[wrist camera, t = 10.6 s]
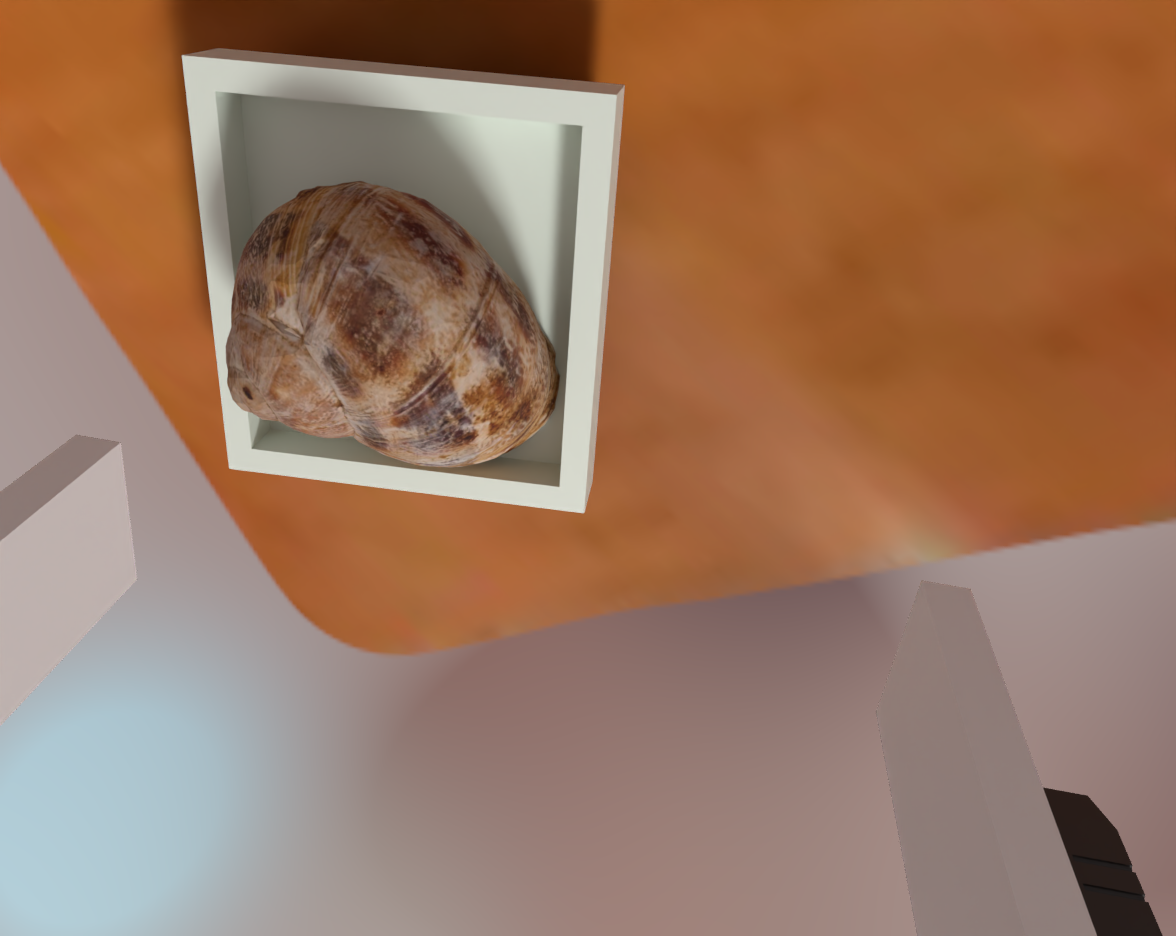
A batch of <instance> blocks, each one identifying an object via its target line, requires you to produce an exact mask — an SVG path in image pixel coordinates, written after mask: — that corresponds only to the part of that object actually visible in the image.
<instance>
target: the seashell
mask: <svg viewBox="0 0 1176 936" xmlns="http://www.w3.org/2000/svg"><path fill="white" fill-rule="evenodd" d="M555 358H556V352H555V350H554V347H553V345H552V343H551V342H550V341H549V339H548V338H547V336H546V335H545V334H544V333H543V332H542V331H541V328H540V326H539V323H538V321H537V319H536V316H535V314H534V312H533V310H532V309H531V307H530V305H529V303H528V301H527V300H526V298H525V296H524V295H523V293H522V292H521V290H520V289H519V288H518V286H517V285H516V283H515V282H514V281H513V280H512V279H511V278H510V277H509V276H508V274H507V273H506V272H505V271H504V270H503V269H502V268H501V267H500V266H499V265H498V264H497V262H496V261H495V260H494V259H493V258H492V257H491V256H490V255H489V254H488V252H487V251H486V250H485V248H484V247H483V246H482V244H481V243H480V242H479V241H478V240H477V239H476V238H475V237H473V236H472V235H471V234H470V233H469V232H468V231H467V230H466V229H464V228H463V227H462V226H461V225H460V224H459V223H458V222H457V221H456V220H454V219H453V218H451V217H450V216H449V215H447V214H446V213H444V212H443V211H441V210H440V209H438V208H437V207H436V206H434V205H433V204H431V203H430V202H428V201H427V200H425V199H423V198H419V197H416V196H414V195H411V194H409V193H405V192H400V191H396V190H394V189H391V188H389V187H384V186H379V185H373V184H369V183H366V182H363V181H355V182H348V183H341V184H338V185H332V186H316V187H315V188H312V189H305V190H302V191H300V192H299V193H298V195H297V196H296V198H294V199H292V200H290V201H288V202H287V203H285V204H283V205H281V206H280V207H278V208H277V209H275V210H274V211H273V212H271V213H270V214H269V215H267V216H266V217H265V218H264V219H263V221H262V222H261V223H260V225H259V226H258V227H257V228H256V230H255V231H254V233H253V234H252V235H251V237H250V238H249V240H248V242H247V244H246V246H245V247H244V249H243V252H242V255H241V258H240V261H239V264H238V267H237V273H236V278H235V284H234V289H233V295H232V304H231V330H230V333H229V336H228V339H227V343H226V364H227V369H228V377H227V384H228V387H229V391H230V394H231V397H232V400H233V401H234V402H235V403H236V404H237V405H238V406H239V407H240V408H241V409H242V410H244V411H247V412H250V413H253V414H254V415H256V416H258V417H259V418H261V419H262V420H271V421H279V422H281V423H283V424H285V425H287V426H288V427H290V428H292V429H294V430H297V431H300V432H302V433H305V434H308V435H313V436H317V437H321V438H342V437H348V436H353V437H354V438H355V439H356V440H357V441H358V442H360V443H362V444H364V445H366V446H367V447H369V448H371V449H373V450H375V451H377V452H379V453H381V454H383V455H386V456H389V457H391V458H394V459H397V460H400V461H404V462H407V463H410V464H414V465H418V466H431V467H438V468H439V467H461V466H468V465H473V464H477V463H481V462H485V461H488V460H491V459H495V458H497V457H498V456H500V455H501V454H504V453H508V452H509V451H511V450H512V449H516V448H518V447H519V446H520V445H522V444H523V443H524V442H525V441H527V440H528V439H529V438H531V437H532V436H534V435H535V433H536V432H537V431H538V430H539V429H540V428H541V427H542V426H544V425H545V423H546V422H547V421H548V419H549V418H550V416H551V414H552V413H553V411H554V409H555V405H556V399H557V394H558V390H559V382H560V374H559V372H558V369H557V367H556V365H555Z"/></svg>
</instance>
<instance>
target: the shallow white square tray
mask: <svg viewBox="0 0 1176 936" xmlns="http://www.w3.org/2000/svg"><path fill="white" fill-rule="evenodd" d="M182 63H183V71H184V80H185V89H186V97H187V106H188V115H189V124H190V132H191V141H192V150H193V158H194V167H195V176H196V184H197V193H198V202H199V210H200V219H201V228H202V237H203V245H204V254H205V263H206V271H207V280H208V289H209V297H210V306H211V315H212V323H213V332H214V341H215V350H216V358H217V367H218V376H219V384H220V393H221V402H222V410H223V419H224V428H225V436H226V445H227V454H228V463H229V469H236V470H244V471H252V472H260V473H268V474H276V475H283V476H291V477H299V478H307V479H315V480H323V481H331V482H339V483H347V484H355V485H363V486H371V487H379V488H387V489H395V490H403V491H411V492H419V493H427V494H435V495H443V496H451V497H458V498H466V499H474V500H482V501H490V502H498V503H506V504H514V505H522V506H530V507H538V508H546V509H554V510H562V511H570V512H578V513H584V512H585V508H586V504H587V500H588V496H589V493H590V489H591V485H592V481H593V469H594V457H595V445H596V432H597V420H598V408H599V396H600V383H601V371H602V359H603V347H604V334H605V322H606V310H607V298H608V285H609V273H610V261H611V249H612V236H613V224H614V212H615V200H616V187H617V175H618V163H619V151H620V138H621V126H622V114H623V102H624V89H625V85H621V84H610V83H599V82H588V81H577V80H566V79H555V78H544V77H533V76H522V75H511V74H500V73H489V72H478V71H467V70H456V69H444V68H433V67H422V66H411V65H400V64H389V63H378V62H367V61H356V60H345V59H334V58H323V57H312V56H301V55H290V54H279V53H267V52H256V51H245V50H234V49H223V48H217V49H211V50H206V51H201V52H196V53H191V54H186V55H182ZM355 181H363V182H366V183H369V184H373V185H379V186H384V187H389V188H391V189H394V190H396V191H400V192H405V193H409V194H411V195H414V196H416V197H419V198H423V199H425V200H427V201H428V202H430V203H431V204H433V205H434V206H436V207H437V208H438V209H440V210H441V211H443V212H444V213H446V214H447V215H449V216H450V217H451V218H453V219H454V220H456V221H457V222H458V223H459V224H460V225H461V226H462V227H463V228H464V229H466V230H467V231H468V232H469V233H470V234H471V235H472V236H473V237H475V238H476V239H477V240H478V241H479V242H480V243H481V244H482V246H483V247H484V248H485V250H486V251H487V252H488V254H489V255H490V256H491V257H492V258H493V259H494V260H495V261H496V262H497V264H498V265H499V266H500V267H501V268H502V269H503V270H504V271H505V272H506V273H507V274H508V276H509V277H510V278H511V279H512V280H513V281H514V282H515V283H516V285H517V286H518V288H519V289H520V290H521V292H522V293H523V295H524V296H525V298H526V300H527V301H528V303H529V305H530V307H531V309H532V310H533V312H534V314H535V316H536V319H537V321H538V323H539V326H540V328H541V331H542V332H543V333H544V334H545V335H546V336H547V338H548V339H549V341H550V342H551V343H552V345H553V347H554V350H555V352H556V358H555V365H556V367H557V369H558V372H559V374H560V382H559V390H558V394H557V399H556V405H555V409H554V411H553V413H552V414H551V416H550V418H549V419H548V421H547V422H546V423H545V425H544V426H542V427H541V428H540V429H539V430H538V431H537V432H536V433H535V435H534V436H532V437H531V438H529V439H528V440H527V441H525V442H524V443H523V444H522V445H520V446H519V447H518V448H516V449H512V450H511V451H509V452H508V453H504V454H501V455H500V456H498V457H497V458H495V459H491V460H488V461H485V462H481V463H477V464H473V465H468V466H461V467H439V468H438V467H431V466H418V465H414V464H410V463H407V462H404V461H400V460H397V459H394V458H391V457H389V456H386V455H383V454H381V453H379V452H377V451H375V450H373V449H371V448H369V447H367V446H366V445H364V444H362V443H360V442H358V441H357V440H356V439H355V438H354V437H353V436H348V437H342V438H321V437H317V436H313V435H308V434H305V433H302V432H300V431H297V430H294V429H292V428H290V427H288V426H287V425H285V424H283V423H281V422H279V421H271V420H262V419H261V418H259V417H258V416H256V415H254V414H253V413H250V412H247V411H244V410H242V409H241V408H240V407H239V406H238V405H237V404H236V403H235V402H234V401H233V400H232V397H231V394H230V391H229V387H228V384H227V377H228V369H227V364H226V343H227V339H228V336H229V333H230V330H231V304H232V295H233V289H234V284H235V278H236V273H237V267H238V264H239V261H240V258H241V255H242V252H243V249H244V247H245V246H246V244H247V242H248V240H249V238H250V237H251V235H252V234H253V233H254V231H255V230H256V228H257V227H258V226H259V225H260V223H261V222H262V221H263V219H264V218H265V217H266V216H267V215H269V214H270V213H271V212H273V211H274V210H275V209H277V208H278V207H280V206H281V205H283V204H285V203H287V202H288V201H290V200H292V199H294V198H296V196H297V195H298V193H299V192H300V191H302V190H305V189H312V188H315V187H316V186H332V185H338V184H341V183H348V182H355Z"/></svg>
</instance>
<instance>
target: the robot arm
mask: <svg viewBox="0 0 1176 936" xmlns="http://www.w3.org/2000/svg"><path fill="white" fill-rule="evenodd" d="M136 580H137V574H136V565H135V558H134V549H133V540H132V532H131V524H130V515H129V507H128V499H127V491H126V482H125V474H124V466H123V459H122V449H121V442H115V441H109V440H104V439H98V438H92V437H86V436H80V435H75V436H74V437H73V438H71V439H70V440H69V441H67V442H66V443H65V444H63V445H62V446H61V447H59V448H58V449H57V450H55V451H54V452H53V453H51V454H50V455H49V456H47V457H46V458H45V459H43V460H42V461H41V462H39V463H38V464H37V465H35V466H34V467H33V468H31V469H30V470H29V471H27V472H26V473H25V474H24V475H22V476H21V477H20V478H18V479H17V480H16V481H14V482H13V483H12V484H11V485H9V486H8V487H6V488H5V489H4V490H2V491H1V492H0V726H1V725H2V724H3V723H4V721H5V720H6V719H7V718H8V717H9V716H10V715H11V714H12V713H13V712H14V711H15V709H17V707H18V706H19V705H20V704H21V703H22V702H23V701H24V700H25V699H26V698H27V697H28V696H29V695H30V694H31V692H32V691H33V690H34V689H35V688H36V687H37V686H38V685H39V684H40V683H41V682H42V681H43V679H44V678H45V677H46V676H47V675H48V674H49V673H50V672H51V671H52V670H53V669H54V668H55V666H57V665H58V663H59V662H60V661H61V660H62V659H63V658H64V657H65V656H66V655H67V654H68V653H69V652H70V651H71V650H72V648H73V647H74V646H75V645H76V644H77V643H78V642H79V641H80V640H81V639H82V638H83V637H84V636H85V635H86V633H87V632H88V631H89V630H90V629H91V628H92V627H93V626H94V625H95V624H96V623H97V622H98V621H99V619H100V618H101V617H102V616H103V615H104V614H105V613H106V612H107V611H108V610H109V609H110V608H111V607H112V606H113V604H114V603H115V602H116V601H117V600H118V599H119V598H120V597H121V596H122V595H123V594H124V593H125V592H126V591H127V590H128V588H129V587H130V586H131V585H132V584H133V583H134V582H135V581H136ZM876 715H877V720H878V726H879V731H880V737H881V742H882V747H883V753H884V759H885V763H886V769H887V775H888V780H889V786H890V791H891V797H892V802H893V807H894V812H895V818H896V823H897V829H898V835H899V840H900V845H901V851H902V856H903V861H904V867H905V873H906V878H907V883H908V888H909V894H910V900H911V905H912V910H913V916H914V921H915V927H916V932H917V936H1162V933H1161V931H1160V929H1159V926H1158V924H1157V922H1156V919H1155V917H1154V915H1153V912H1152V910H1151V908H1150V906H1149V903H1148V902H1145V900H1144V896H1145V894H1144V891H1143V890H1142V887H1141V884H1140V882H1139V880H1138V878H1137V875H1136V873H1134V872H1132V864H1131V861H1130V859H1129V857H1128V854H1127V852H1126V850H1125V847H1124V845H1123V843H1122V841H1121V838H1120V836H1119V834H1118V831H1117V829H1116V828H1115V827H1114V826H1113V825H1112V824H1111V823H1110V821H1109V820H1108V819H1107V818H1106V817H1105V815H1104V814H1103V813H1102V812H1101V811H1100V810H1099V808H1098V807H1097V806H1096V805H1095V804H1094V803H1093V802H1092V800H1091V799H1090V798H1089V797H1088V796H1086V795H1080V794H1075V793H1069V792H1064V791H1058V790H1053V789H1048V788H1043V786H1042V784H1041V781H1040V778H1039V775H1038V773H1037V770H1036V767H1035V764H1034V762H1033V759H1032V756H1031V753H1030V751H1029V748H1028V745H1027V743H1026V740H1025V737H1024V734H1023V731H1022V729H1021V726H1020V723H1019V720H1018V718H1017V715H1016V713H1015V709H1014V707H1013V704H1012V701H1011V698H1010V696H1009V693H1008V690H1007V688H1006V685H1005V682H1004V679H1003V677H1002V674H1001V671H1000V668H999V666H998V663H997V660H996V657H995V655H994V652H993V649H992V646H991V644H990V641H989V638H988V635H987V633H986V630H985V627H984V624H983V622H982V619H981V616H980V613H979V611H978V608H977V605H976V603H975V600H974V597H973V594H972V592H971V589H968V588H962V587H956V586H951V585H944V584H939V583H933V582H928V581H921V583H920V586H919V589H918V592H917V595H916V598H915V601H914V604H913V607H912V609H911V612H910V615H909V618H908V621H907V624H906V627H905V630H904V632H903V635H902V639H901V641H900V644H899V647H898V650H897V653H896V656H895V659H894V661H893V664H892V667H891V670H890V673H889V676H888V679H887V682H886V685H885V687H884V691H883V693H882V696H881V699H880V702H879V705H878V708H877V711H876Z"/></svg>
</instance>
